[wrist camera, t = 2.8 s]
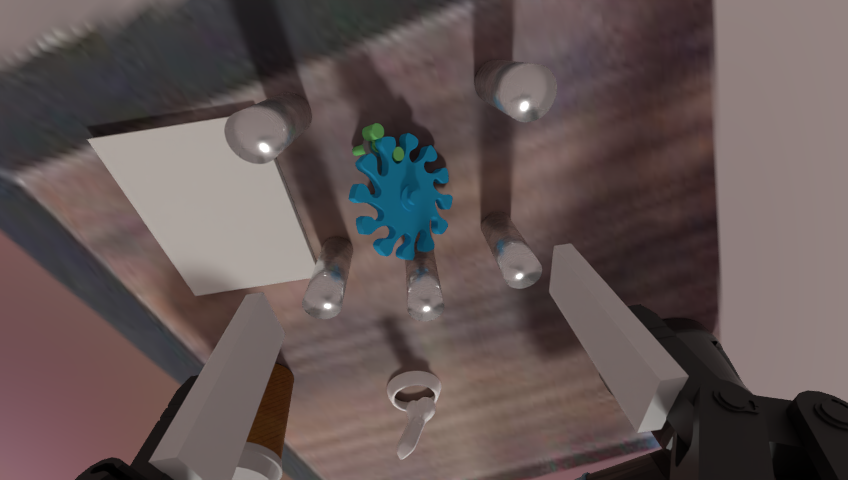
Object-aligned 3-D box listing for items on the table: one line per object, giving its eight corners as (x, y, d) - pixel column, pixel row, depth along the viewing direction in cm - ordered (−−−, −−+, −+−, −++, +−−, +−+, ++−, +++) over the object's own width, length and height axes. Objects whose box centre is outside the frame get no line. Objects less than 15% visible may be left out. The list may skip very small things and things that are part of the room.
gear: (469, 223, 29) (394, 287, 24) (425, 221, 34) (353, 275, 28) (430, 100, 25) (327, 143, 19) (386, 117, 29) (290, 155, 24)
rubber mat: (258, 111, 25) (255, 112, 24) (321, 273, 33) (319, 276, 32) (93, 137, 25) (87, 139, 24) (198, 292, 33) (195, 295, 33)
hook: (390, 382, 35) (436, 430, 34) (418, 347, 47) (454, 382, 45) (350, 427, 36) (393, 475, 35) (387, 382, 48) (421, 417, 47)
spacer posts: (512, 56, 24) (559, 60, 17) (510, 251, 33) (539, 303, 27) (265, 95, 24) (214, 114, 17) (333, 279, 33) (317, 338, 27)
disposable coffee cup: (306, 400, 44) (279, 507, 34) (232, 397, 42) (181, 508, 32) (307, 355, 39) (277, 463, 29) (225, 349, 38) (161, 462, 28)
